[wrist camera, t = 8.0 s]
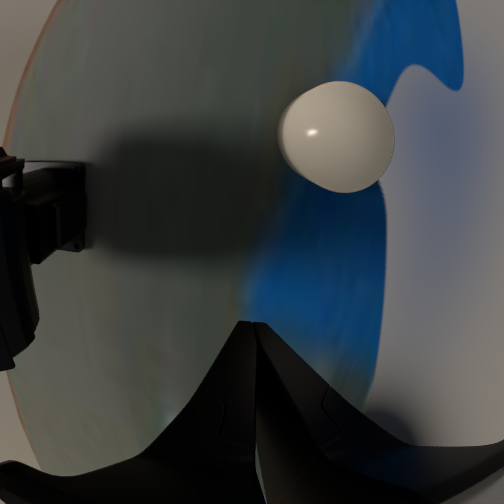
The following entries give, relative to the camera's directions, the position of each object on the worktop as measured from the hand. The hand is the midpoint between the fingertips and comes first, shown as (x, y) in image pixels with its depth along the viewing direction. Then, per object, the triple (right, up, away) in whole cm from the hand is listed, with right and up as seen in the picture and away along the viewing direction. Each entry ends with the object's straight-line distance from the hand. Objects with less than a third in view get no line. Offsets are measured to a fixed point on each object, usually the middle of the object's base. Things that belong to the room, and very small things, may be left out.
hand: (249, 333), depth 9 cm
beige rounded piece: (+5, +10, +10) cm, 15 cm away
